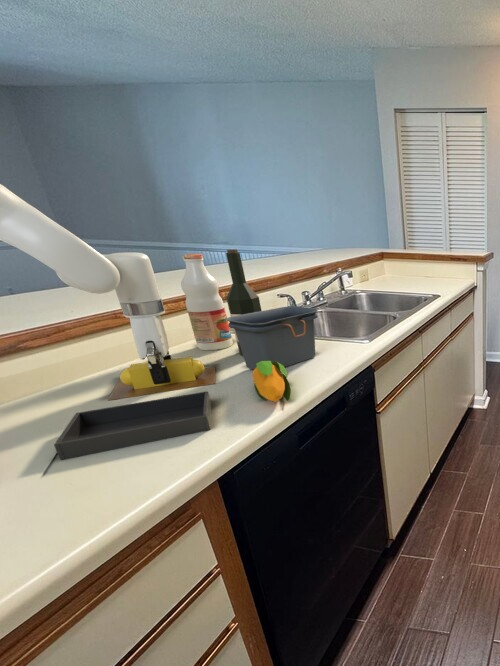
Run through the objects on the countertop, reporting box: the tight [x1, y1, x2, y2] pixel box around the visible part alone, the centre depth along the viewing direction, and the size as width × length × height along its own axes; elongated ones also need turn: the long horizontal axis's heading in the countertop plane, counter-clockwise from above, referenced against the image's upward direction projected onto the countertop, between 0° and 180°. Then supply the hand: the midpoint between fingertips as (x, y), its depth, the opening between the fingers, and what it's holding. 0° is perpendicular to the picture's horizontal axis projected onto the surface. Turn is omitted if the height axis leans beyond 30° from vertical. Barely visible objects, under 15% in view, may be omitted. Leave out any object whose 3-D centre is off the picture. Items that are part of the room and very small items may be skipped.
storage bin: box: [226, 305, 319, 371], centre depth 117 cm, size 21×16×14 cm
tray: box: [53, 390, 212, 461], centre depth 82 cm, size 21×14×4 cm
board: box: [107, 366, 216, 402], centre depth 105 cm, size 20×14×1 cm
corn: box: [252, 361, 292, 403], centre depth 98 cm, size 7×8×20 cm
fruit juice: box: [180, 253, 234, 351], centre depth 128 cm, size 9×9×28 cm
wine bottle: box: [225, 248, 263, 357], centre depth 123 cm, size 8×8×30 cm
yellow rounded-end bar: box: [119, 356, 206, 389], centre depth 104 cm, size 16×4×5 cm, turn 123°
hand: (164, 376), depth 104 cm, fingers open, 9 cm apart
